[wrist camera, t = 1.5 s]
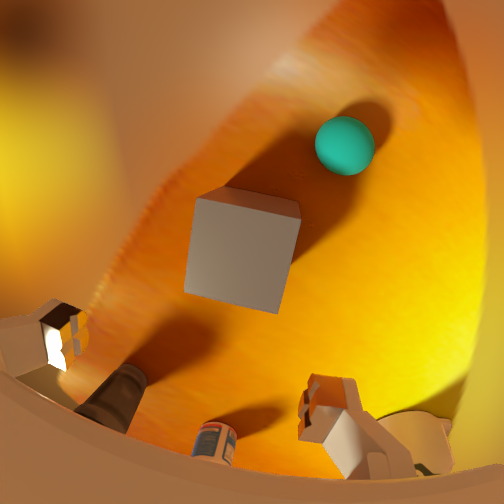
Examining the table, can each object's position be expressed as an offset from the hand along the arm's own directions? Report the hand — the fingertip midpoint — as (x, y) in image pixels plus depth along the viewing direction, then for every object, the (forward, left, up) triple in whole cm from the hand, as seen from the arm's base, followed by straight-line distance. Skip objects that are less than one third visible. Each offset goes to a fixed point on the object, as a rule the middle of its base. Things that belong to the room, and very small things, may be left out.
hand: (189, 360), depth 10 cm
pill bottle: (-26, +14, -21) cm, 36 cm away
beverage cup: (-14, +22, -21) cm, 34 cm away
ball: (+5, -10, -18) cm, 21 cm away
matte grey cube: (0, 0, -20) cm, 20 cm away
